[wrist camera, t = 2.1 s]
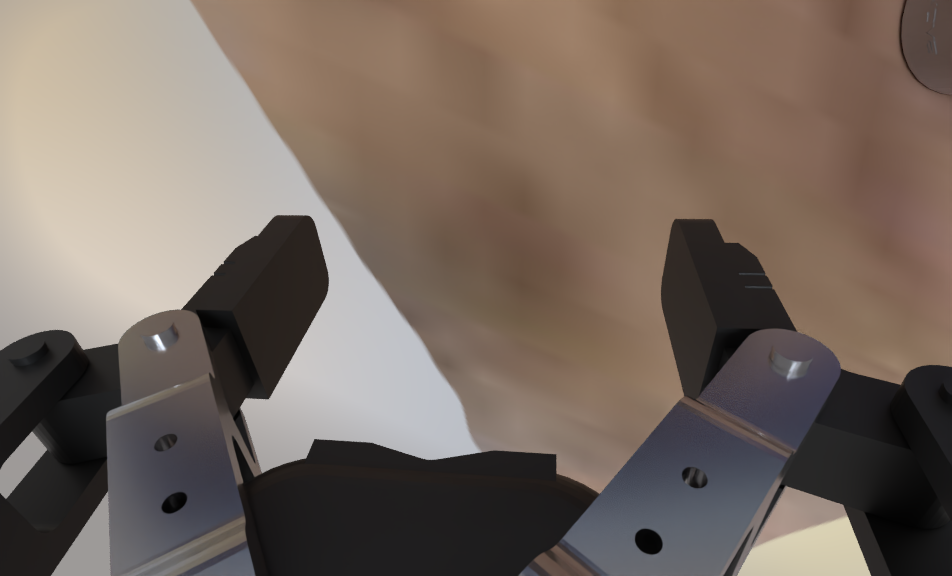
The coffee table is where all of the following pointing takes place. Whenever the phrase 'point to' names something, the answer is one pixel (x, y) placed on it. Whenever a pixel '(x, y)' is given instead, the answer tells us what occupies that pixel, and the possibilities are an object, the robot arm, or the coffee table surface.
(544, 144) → the coffee table surface
